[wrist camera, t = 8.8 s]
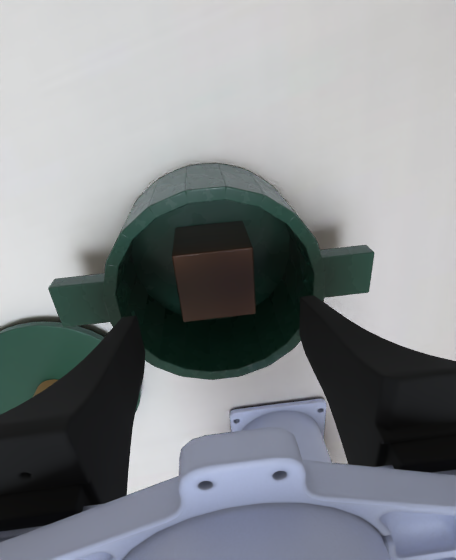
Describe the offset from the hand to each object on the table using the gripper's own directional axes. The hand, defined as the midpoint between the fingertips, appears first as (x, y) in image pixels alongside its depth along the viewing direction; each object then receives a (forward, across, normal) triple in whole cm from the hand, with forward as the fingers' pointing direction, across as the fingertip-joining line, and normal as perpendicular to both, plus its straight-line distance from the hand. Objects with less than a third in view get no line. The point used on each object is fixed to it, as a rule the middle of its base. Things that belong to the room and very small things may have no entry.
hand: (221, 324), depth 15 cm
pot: (+8, 0, 0) cm, 8 cm away
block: (+7, 0, 0) cm, 7 cm away
